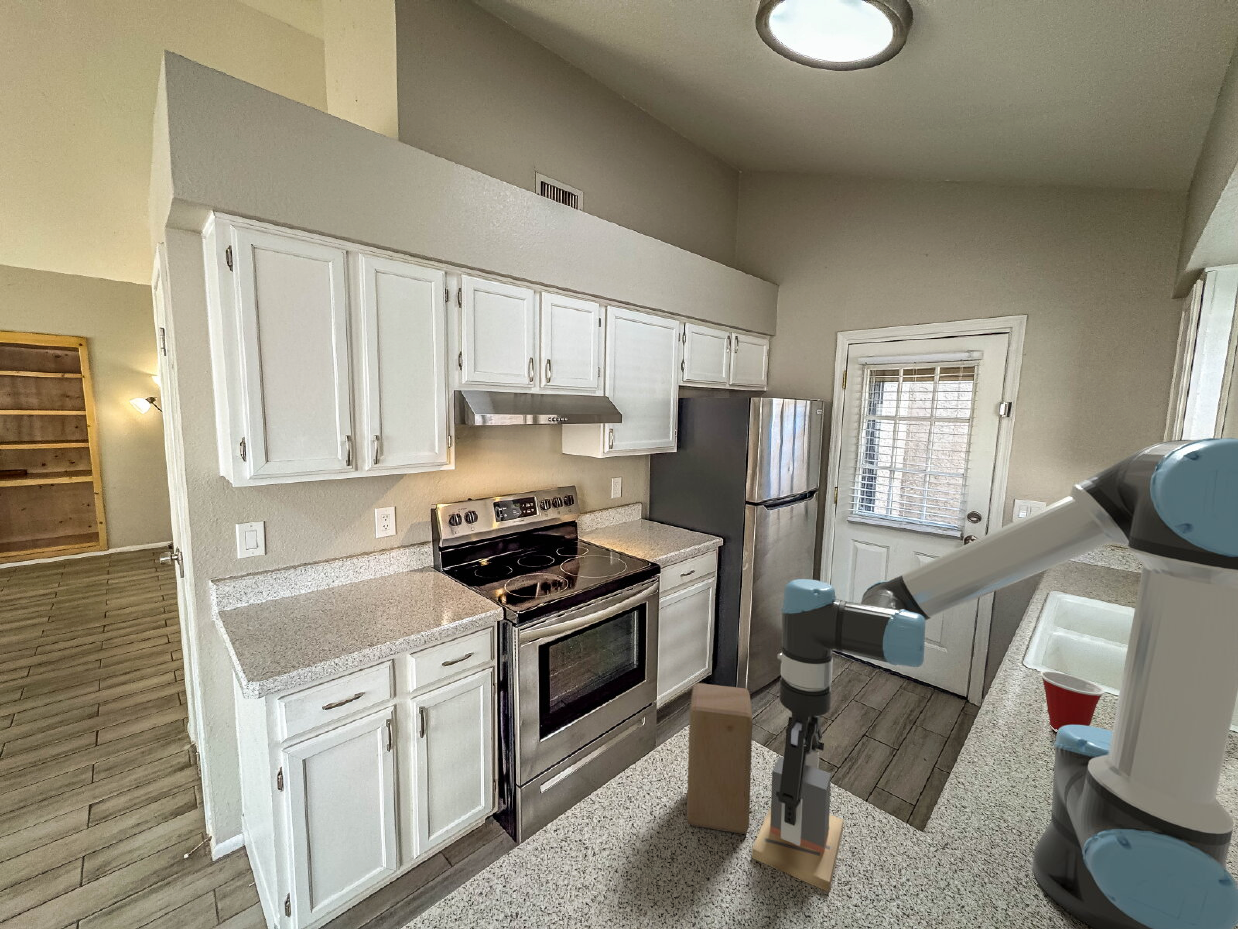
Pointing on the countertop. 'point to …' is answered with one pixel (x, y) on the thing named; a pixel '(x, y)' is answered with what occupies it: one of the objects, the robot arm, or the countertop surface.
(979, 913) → the countertop surface
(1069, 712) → the plastic cup
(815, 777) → the block
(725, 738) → the wooden block
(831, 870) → the board
